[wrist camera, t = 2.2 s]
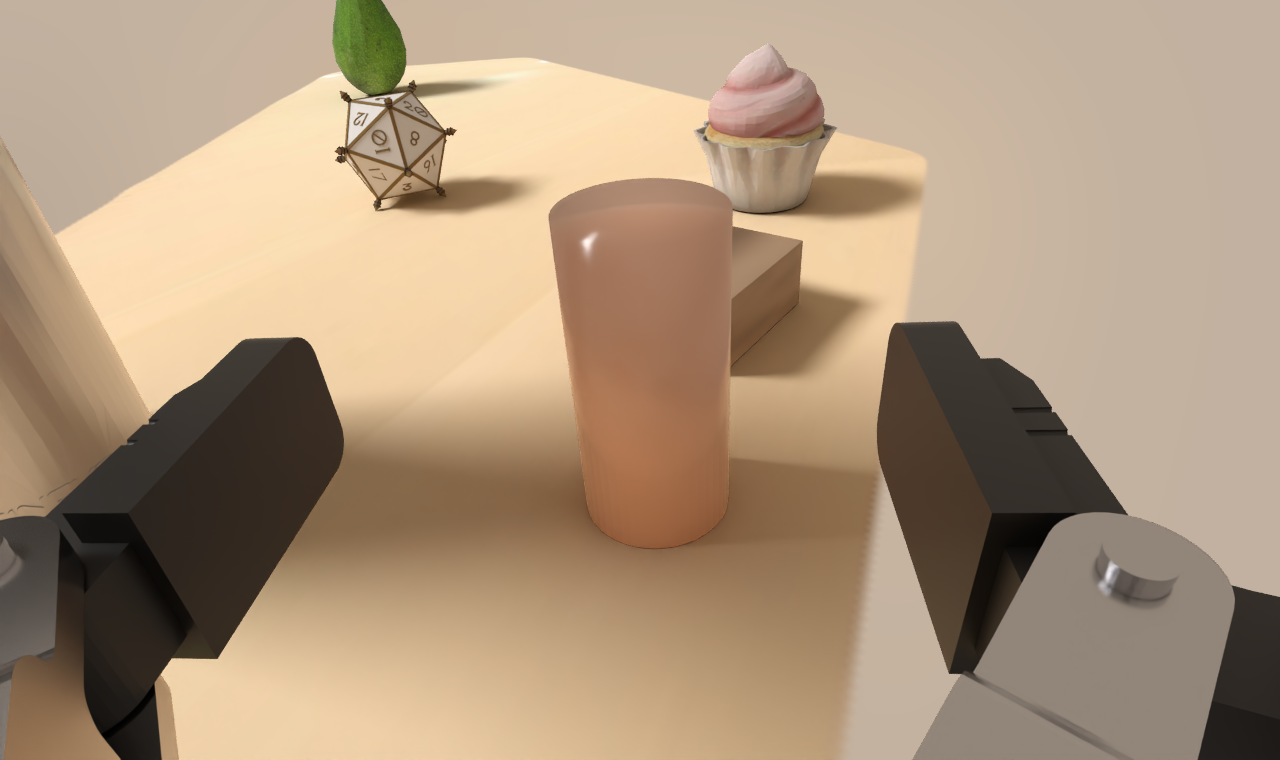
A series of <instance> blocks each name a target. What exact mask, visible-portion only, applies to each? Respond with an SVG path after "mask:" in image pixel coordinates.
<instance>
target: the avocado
mask: <svg viewBox="0 0 1280 760" xmlns="http://www.w3.org/2000/svg"><path fill="white" fill-rule="evenodd" d="M333 47H334V52H335V58H336V62H337V64H338V65H339V67H340V69H341V71H342V73H343V74H344V76H345V78H346V79H347V80H348V81H349V82H350V83H351V84H352V85H353V86H355V87H356V88H357V89H359V90H360V91H362V92H364V93H366V94H370V95H378V94H384V93H388V92H390V91H391V90H392V89H393V88H395V87H396V86H397V84H398V83H399V82H400V80H401V78H402V76H403V74H404V72H405V67H406V48H405V45H404V42H403V39H402V36H401V32H400V29H399V28H398V26H397V24H396V23H395V21H394V20H393V18H392V17H391V15H390V13H389V12H388V10H387V8H386V7H385V5H384V4H383V2H382V1H381V0H337V2H336V10H335V18H334V25H333Z"/></svg>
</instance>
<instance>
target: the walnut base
mask: <svg viewBox="0 0 1280 760" xmlns="http://www.w3.org/2000/svg"><path fill="white" fill-rule="evenodd" d="M802 244H803V241H801V240H797V239H792V238H787V237H782V236H777V235H772V234H767V233H762V232H757V231H753V230H748V229H743V228H738V227H733V226H732V290H731V361H730V367H731V366H732V365H733V364H734V363H735V362H736V361H737V360H738V359H739V358H740V357H741V356H742V355H743V354H744V353H745V352H747V351H748V350H749V349H750V348H751V347H752V346H753V345H754V344H755V343H756V342H757V341H758V340H759V339H760V338H761V337H762V336H764V335H765V334H766V333H767V332H768V331H769V330H770V329H771V328H772V327H773V326H774V325H775V324H776V323H777V322H778V321H780V320H781V319H782V318H783V317H784V316H785V315H786V314H787V313H788V312H789V311H790V310H791V309H792V308H793V307H794V306H795V305H797V304H798V299H799V285H800V272H801V258H802Z"/></svg>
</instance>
